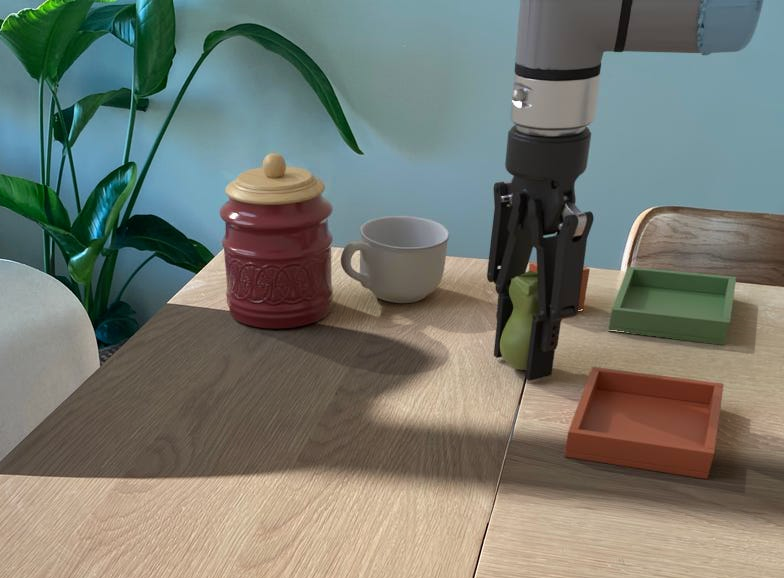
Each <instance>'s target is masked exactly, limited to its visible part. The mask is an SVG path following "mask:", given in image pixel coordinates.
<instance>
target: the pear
mask: <svg viewBox="0 0 784 578" xmlns="http://www.w3.org/2000/svg"><path fill="white" fill-rule="evenodd" d="M509 295H510V298H511V301H512V303H513V312H512V315H511V316H510V318H509V320H508V322H507V324H506V326H505V328H504V330H503V333H502V336H501V339H500V351H501V354H502V357H501V358H502V359H503V361H504V362H505V363H506V364H507V365H508V366H509V367H511V368H513V369H516V370H521V371H522V370H523V371H526V368H527V360H528V352H529V344H530V336H531V327H532V319H533V317H532V316H533V315H538V314H539V307H538V280H537V272H534V271H529V270H528V271H526V272H525V273H524V274H522V275H521V276H516V277H515V278H514V279H512V280H511V285H510V287H509ZM550 307H551V305H550Z"/></svg>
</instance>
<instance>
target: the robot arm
mask: <svg viewBox="0 0 784 578" xmlns="http://www.w3.org/2000/svg"><path fill="white" fill-rule="evenodd" d="M763 4H764V0H519V10H518V24H517V37H516V46H515V47H516V49H515V60H514V62H515V63H514V77H513V88H512V93H511V107H510V115H509V116H510V118H509V119H510V121H511V122H512V123H513V124H514V125H513V126H512V127H510V129H509V130H508V132H507V140H506V141H507V142H506V151H505V162H504V163H505V164H504V166H505V170H506V172H507V173H509V174H510V175H511V176H513V177H512V178H511V179H510V180H503V181H498V182H495V183H494V185H493V203H494V204H493V205H494V209H493V218H492V228H491V236H490V243H489V253H488V262H487V269H486V270H487V272H486V279H487V281H488V282H489V283H494V285H495V292H496V294H497V296H498V297H497V307H496V315H495V317H496V326H495V327H496V328H495V337H494V347H493V356H494V357H495V358H496V359H500V358H503V357H502V354H501V351H500V339H501V336H502V333H503V330H504V328H505V326H506V324H507V322H508V320H509V318H510V316H511V315H512V312H513V303H512V301H511V298H510V295H509V287H510V285H511V280H512V279H514V278H515V277H516V276H521V275H522V274H524V273H526V272H527V268H528V265H529V263H530V262H529V261H530V258H531V256H532V252H533V249H535V250H536V253H535V254H536V261H537V280H538V307H539V314H538V315H533V316H532V317H533V319H532V327H531V336H530V344H529V352H528V360H527V368H526V370H525V379H526V380H527V381H535V380H538V379H543V378H546V377H552V373H553V368H554V367H553V365H554V359H555V352H556V350H557V347H558V345H559V336H560V331H561V325H562V320H563V319H568V318H573V317H576V316H578V313H579V312H578V308H579V300H580V292H581V284H582V275H583V267H584V266H585V258H586V250H587V242H588V237H589V235H590V232H591V229H592V226H593V223H594V220H595V219H594V214H593V211H583V212H582V211H581V210H580V209H579V207H577V205H576V190H575V185H576V181H577V180H578V179H579V177H580V176H581V175H582V174H584V173H585V172H586V169H587V167H588V161H589V153H590V147H591V141H592V132H591V130H590V128H589V127H588V126H590V125H591V123H593V122H594V121H595V116H596V108H597V101H598V94H599V86H600V78H601V68H602V59H603V55H604V53H605V52H612V53H613V52H614V53H623V52H633V53H634V52H637V53H674V54H675V53H677V54H682V53H683V54H701V56H709V55H711V54H716V53H737V52H740V51H742V50H744V49H745V48H747V46H748V45H749V44H750V43H751V41H752V39H753V37H754V35H755V32H756V29H757V27H758V23H759V19H760V16H761V14H762V13H761V12H762V8H763ZM549 235H550V236H549ZM544 236H546V237H544ZM499 267H500V268H499ZM550 305H551V307H550Z"/></svg>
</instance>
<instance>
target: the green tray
mask: <svg viewBox="0 0 784 578" xmlns="http://www.w3.org/2000/svg"><path fill="white" fill-rule="evenodd" d="M736 283H737V276H730V275H729V276H728V275H718V274H708V273H697V272H687V271H678V270H677V271H676V270H667V269H659V268H658V269H657V268H647V267H635V266H628V267H627V268H626V271H625V274H624V277H623V280H622V282H621V284H620V287H619V290H618V292H617V295H616V298H615V300H614V303H613V306H612V308H611V313H610V319H609V325H608V329H609V330H617V331H624V332H629V333H635V334H642V335H641V336H643V335H649V336H648V337H651V336H656V337H655V338H660V337H666V338H665V339H668V338H672V339H671V340H677V339H679V340H680V341H686V342H694V343H703V344H710V345H711V344H713V345H720V346H721V345H722V346H725V344H726V339H727V336H728V332H729V328H730V324H731V319H732V312H733V304H734V296H735V290H736ZM657 336H659V337H657ZM679 340H678V341H679Z"/></svg>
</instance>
